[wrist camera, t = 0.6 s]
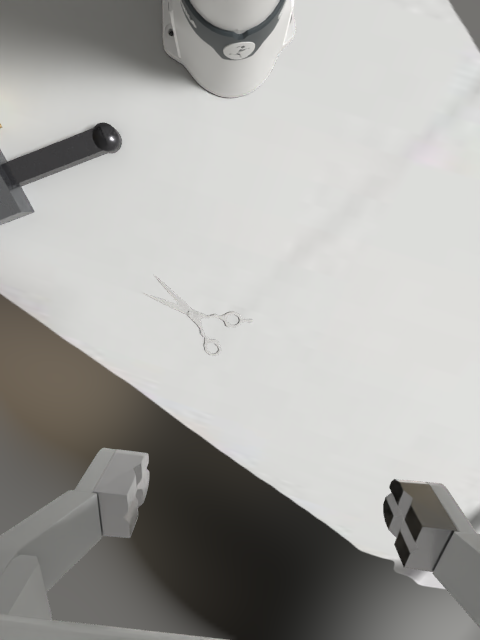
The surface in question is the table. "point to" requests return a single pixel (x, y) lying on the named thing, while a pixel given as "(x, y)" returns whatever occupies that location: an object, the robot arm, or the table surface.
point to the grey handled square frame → (50, 166)
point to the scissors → (197, 315)
